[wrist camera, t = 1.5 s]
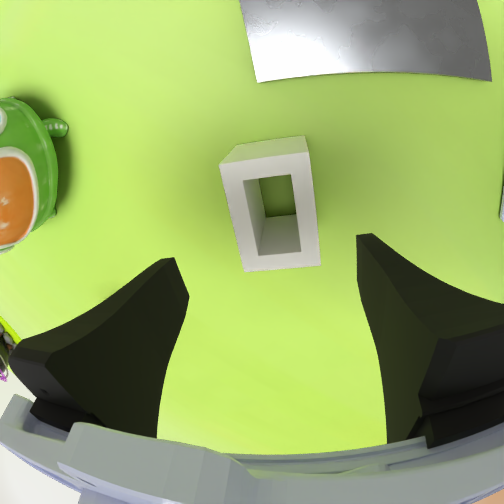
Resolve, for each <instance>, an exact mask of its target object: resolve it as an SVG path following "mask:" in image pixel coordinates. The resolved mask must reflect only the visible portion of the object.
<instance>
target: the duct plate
mask: <svg viewBox="0 0 504 504" xmlns="http://www.w3.org/2000/svg"><path fill="white" fill-rule="evenodd" d="M239 1H240V5H241V10H242V14H243V18H244V23H245V27H246V31H247V36H248V41H249V45H250V50H251V54H252V59H253V64H254V69H255V73H256V78H257V82H258V83H260V82H266V81H273V80H279V79H287V78H295V77H304V76H313V75H325V74H339V73H363V72H398V73H421V74H435V75H446V76H455V77H463V78H470V79H477V80H483V81H491V82H492V77H491V68H490V61H489V54H488V48H487V42H486V37H485V32H484V27H483V23H482V18H481V14H480V10H479V6H478V3H477V0H239Z"/></svg>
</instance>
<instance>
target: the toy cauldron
mask: <svg viewBox="0 0 504 504" xmlns="http://www.w3.org/2000/svg"><path fill="white" fill-rule="evenodd" d="M20 341H21V339H20V337H19V336H18V335H17V333H16V332H15V331H14V330H13V329H12V327H11V326H10V325H9V324H8V323H7V322H6V321H5V320H4V319H3V318H2V317H1V316H0V374H3V372H4V371H5V370H7V375H6V377H4V376H3V375H2V376H0V378H1V379H3V380H4V379H6V378H7V377H8V369H7V367H8V357H9V356H10V354H11V353H12V351H13V350H14V348H15V347H16V346H17V344H18V343H19V342H20ZM5 381H6V380H5Z"/></svg>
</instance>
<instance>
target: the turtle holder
mask: <svg viewBox="0 0 504 504" xmlns="http://www.w3.org/2000/svg"><path fill="white" fill-rule="evenodd" d="M67 131H68V125H67V124H66V123H65V122H63V121H62V120H59V119H55V118H49V119H44V120H41V119H40V118H39V117H38V115H37V114H36V113H35V112H34V110H33V109H32V108H31V107H30V106H29V105H27V104H26V103H24V102H22V101H20V100H17V99H15V97H13V96H12V97H9V98H2V99H0V254H3V253H6V252H8V251H10V250H11V249H13V247H14V245H15V244H18V243H19V242H21V241H22V240H24V239H25V238H26V237H27V236H28V234H29V233H30V232H32V231H34V230H36V229H37V228H38V227H40V226H41V225H42V224H43V223H44V222H45V221H46V220H47V219H48V218H52V217H54V216H55V215H56V210H55V208H54V205H55V202H56V197H57V185H58V164H57V157H56V153H55V149H54V145H53V143H52V140H51V138H50V137H63V136H65V135H66V133H67Z"/></svg>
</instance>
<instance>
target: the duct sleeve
mask: <svg viewBox="0 0 504 504" xmlns="http://www.w3.org/2000/svg"><path fill="white" fill-rule="evenodd" d="M219 169H220V173H221V177H222V181H223V186H224V190H225V194H226V198H227V202H228V207H229V211H230V215H231V219H232V223H233V228H234V232H235V236H236V240H237V244H238V248H239V252H240V256H241V261H242V265H243V269H244V272H252V271H264V270H276V269H287V268H298V267H309V266H320V265H321V261H320V248H319V237H318V226H317V216H316V206H315V197H314V188H313V180H312V172H311V164H310V157H309V151H308V147H307V143H306V139H305V135H303V136H294V137H286V138H279V139H272V140H265V141H258V142H252V143H246V144H240V145H236V146H235V147H234V148H233V149H232V150H231V152H230V153H229V154H228V155H227V156H226V157H225V158H224V159H223V160H222V162H221V163H220V164H219ZM288 174H291V178H292V185H293V192H294V199H295V206H296V213H297V214H295V215H286V216H277V217H268V218H266V215H265V210H264V205H263V199H262V194H261V189H260V183H259V178H265V177H272V176H280V175H288Z"/></svg>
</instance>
